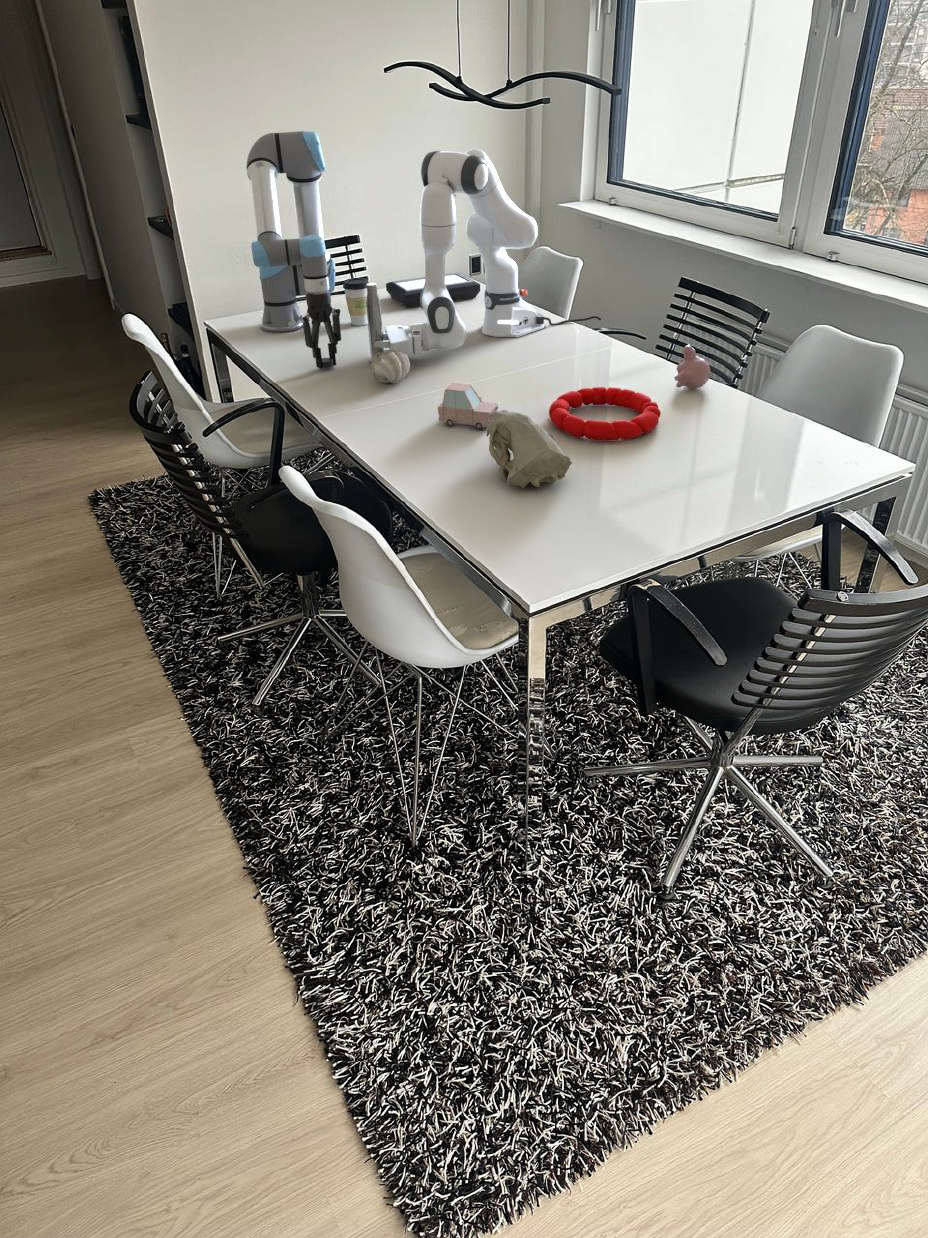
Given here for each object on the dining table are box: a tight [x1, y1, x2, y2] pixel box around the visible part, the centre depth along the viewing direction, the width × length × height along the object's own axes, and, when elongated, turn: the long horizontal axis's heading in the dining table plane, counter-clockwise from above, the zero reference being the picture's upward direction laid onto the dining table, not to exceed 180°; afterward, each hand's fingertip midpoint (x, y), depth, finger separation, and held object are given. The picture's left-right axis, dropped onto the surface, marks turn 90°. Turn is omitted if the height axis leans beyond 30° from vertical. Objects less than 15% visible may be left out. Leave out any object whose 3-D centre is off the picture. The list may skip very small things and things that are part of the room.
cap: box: [322, 357, 334, 369], centre depth 286 cm, size 4×4×2 cm
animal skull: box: [485, 409, 573, 489], centre depth 216 cm, size 17×25×20 cm
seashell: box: [371, 349, 411, 384], centre depth 271 cm, size 10×15×10 cm
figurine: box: [674, 344, 711, 390], centre depth 259 cm, size 9×11×12 cm
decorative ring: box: [548, 386, 661, 442], centre depth 242 cm, size 7×30×30 cm
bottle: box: [366, 282, 385, 363], centre depth 285 cm, size 4×4×24 cm
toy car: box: [437, 382, 499, 431], centre depth 243 cm, size 9×15×10 cm, turn 70°
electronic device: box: [385, 272, 481, 309], centre depth 351 cm, size 32×6×20 cm
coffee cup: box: [342, 277, 370, 327], centre depth 323 cm, size 10×10×15 cm
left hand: (326, 365), depth 286 cm, fingers closed on cap, 4 cm apart
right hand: (373, 341), depth 288 cm, fingers closed on bottle, 4 cm apart
